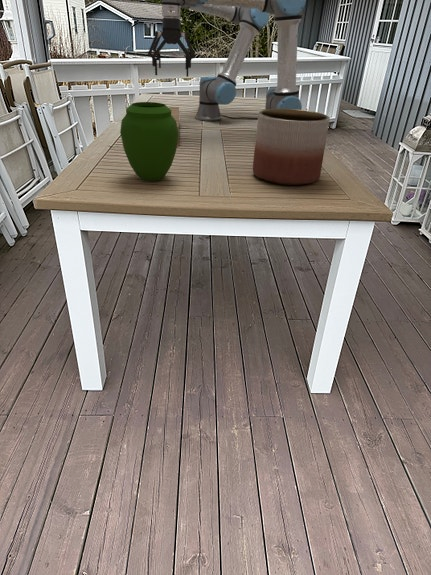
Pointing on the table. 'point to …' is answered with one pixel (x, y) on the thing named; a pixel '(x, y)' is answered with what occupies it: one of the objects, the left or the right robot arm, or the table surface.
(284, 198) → the table surface
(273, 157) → the planter
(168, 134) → the vase
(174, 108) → the beam
